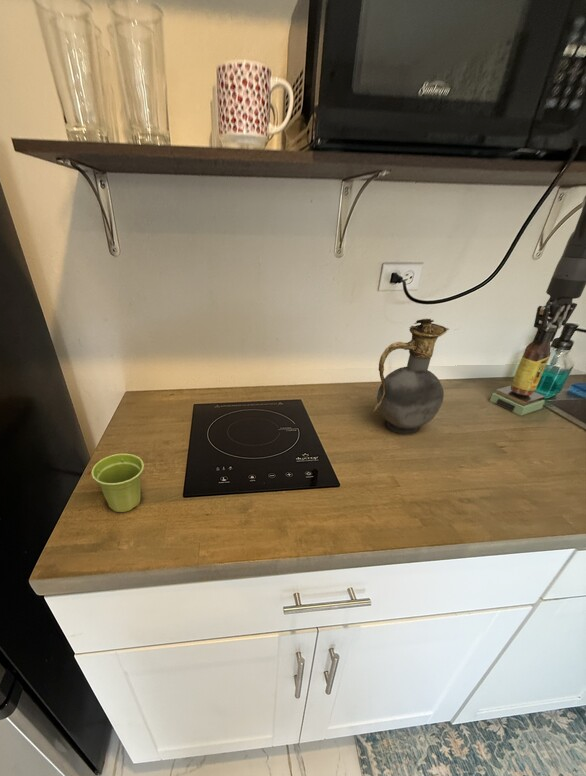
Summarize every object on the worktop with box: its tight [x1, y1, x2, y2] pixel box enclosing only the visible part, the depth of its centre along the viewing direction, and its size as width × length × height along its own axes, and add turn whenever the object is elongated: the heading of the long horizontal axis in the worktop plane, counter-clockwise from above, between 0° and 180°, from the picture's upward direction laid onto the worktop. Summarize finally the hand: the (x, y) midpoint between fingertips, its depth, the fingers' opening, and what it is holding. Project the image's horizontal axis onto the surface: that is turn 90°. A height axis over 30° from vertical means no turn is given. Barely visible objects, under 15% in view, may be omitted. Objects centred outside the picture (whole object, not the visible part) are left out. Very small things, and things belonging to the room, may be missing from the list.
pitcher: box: [372, 318, 450, 435], centre depth 96 cm, size 11×19×30 cm, turn 108°
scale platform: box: [494, 384, 546, 405], centre depth 116 cm, size 9×9×1 cm
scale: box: [489, 392, 546, 416], centre depth 117 cm, size 10×10×3 cm
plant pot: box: [91, 453, 145, 513], centre depth 76 cm, size 9×9×9 cm
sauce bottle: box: [510, 324, 557, 395], centre depth 110 cm, size 6×6×20 cm
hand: (542, 341), depth 107 cm, fingers closed on sauce bottle, 4 cm apart
